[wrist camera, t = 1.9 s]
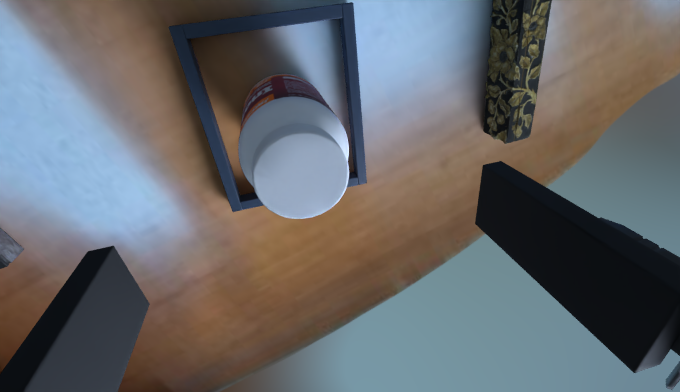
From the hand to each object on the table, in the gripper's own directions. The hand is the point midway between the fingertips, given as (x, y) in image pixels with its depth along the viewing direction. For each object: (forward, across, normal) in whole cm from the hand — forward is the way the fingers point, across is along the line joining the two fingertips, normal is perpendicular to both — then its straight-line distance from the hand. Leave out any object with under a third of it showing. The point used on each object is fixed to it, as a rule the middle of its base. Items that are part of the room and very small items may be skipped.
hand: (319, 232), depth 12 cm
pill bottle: (+15, 0, 0) cm, 15 cm away
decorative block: (+15, +18, +3) cm, 24 cm away
